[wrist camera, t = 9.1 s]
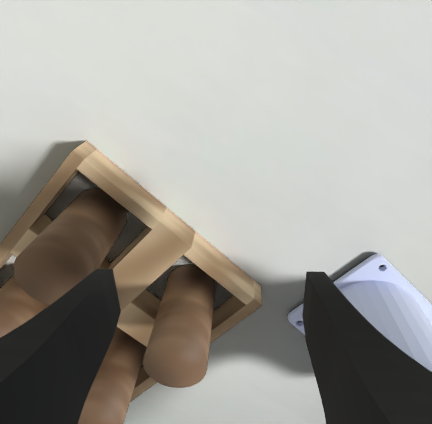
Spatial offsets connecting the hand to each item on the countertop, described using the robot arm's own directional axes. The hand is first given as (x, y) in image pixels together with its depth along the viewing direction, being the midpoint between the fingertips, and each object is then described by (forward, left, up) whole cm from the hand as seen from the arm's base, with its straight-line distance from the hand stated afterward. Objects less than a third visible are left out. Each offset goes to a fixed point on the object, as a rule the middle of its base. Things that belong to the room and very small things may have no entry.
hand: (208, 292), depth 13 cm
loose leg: (+4, +7, -10) cm, 13 cm away
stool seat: (0, +11, -10) cm, 15 cm away
